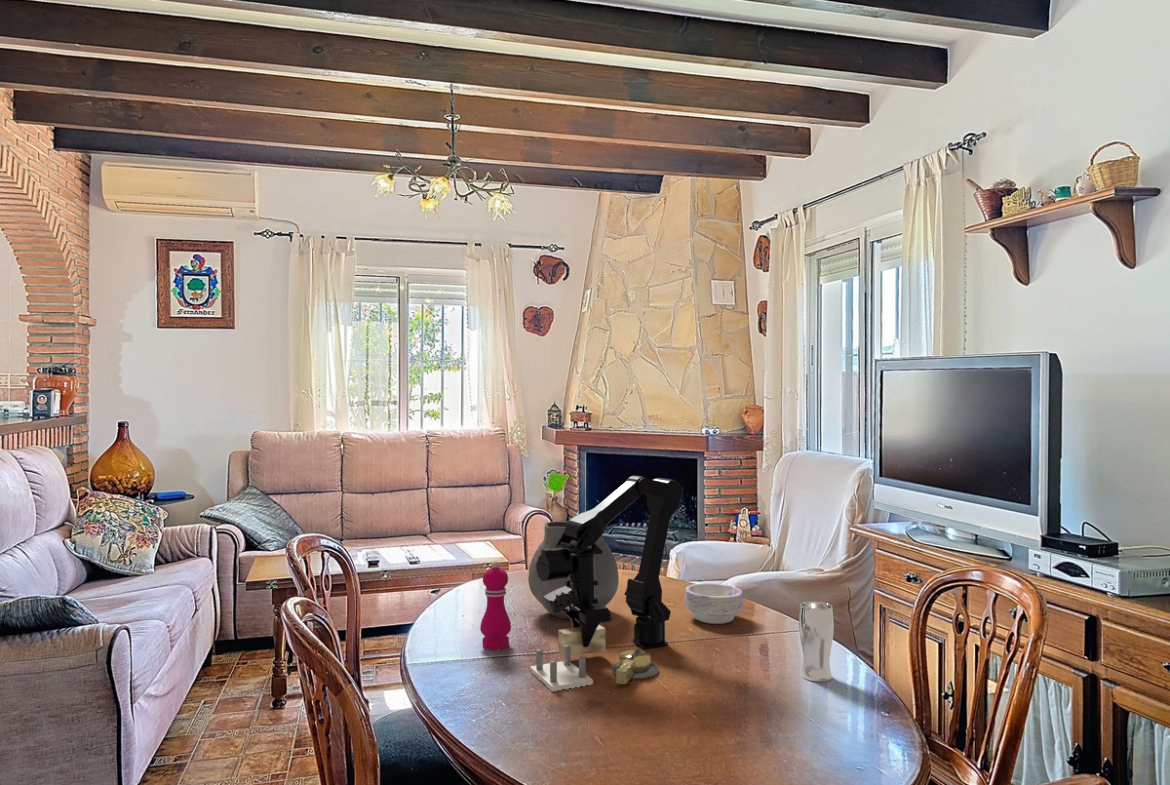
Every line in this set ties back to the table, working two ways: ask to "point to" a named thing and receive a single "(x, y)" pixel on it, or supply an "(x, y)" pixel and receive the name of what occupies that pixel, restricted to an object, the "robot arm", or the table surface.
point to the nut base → (639, 675)
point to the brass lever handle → (631, 664)
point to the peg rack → (561, 672)
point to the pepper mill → (495, 609)
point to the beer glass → (816, 640)
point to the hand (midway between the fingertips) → (582, 644)
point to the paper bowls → (713, 602)
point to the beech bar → (575, 641)
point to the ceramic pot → (602, 569)
